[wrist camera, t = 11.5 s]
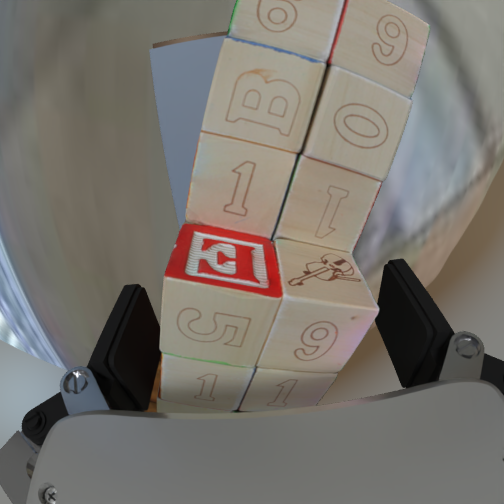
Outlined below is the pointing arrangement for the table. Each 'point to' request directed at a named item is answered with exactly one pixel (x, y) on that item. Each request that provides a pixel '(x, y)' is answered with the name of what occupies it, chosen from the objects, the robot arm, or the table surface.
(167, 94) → the slate-blue tower block
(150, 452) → the robot arm
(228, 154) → the stack of blocks
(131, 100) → the table surface
